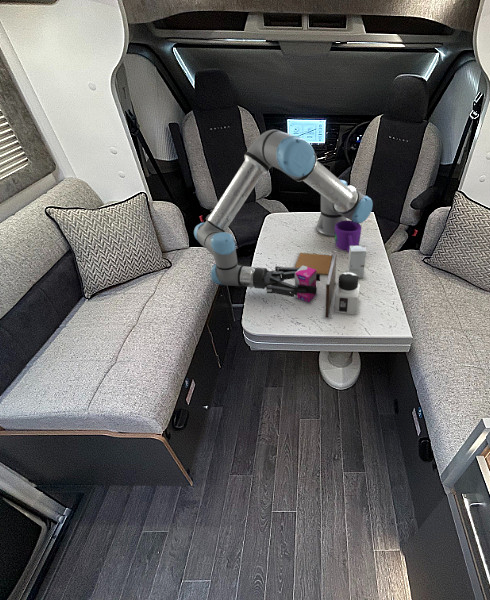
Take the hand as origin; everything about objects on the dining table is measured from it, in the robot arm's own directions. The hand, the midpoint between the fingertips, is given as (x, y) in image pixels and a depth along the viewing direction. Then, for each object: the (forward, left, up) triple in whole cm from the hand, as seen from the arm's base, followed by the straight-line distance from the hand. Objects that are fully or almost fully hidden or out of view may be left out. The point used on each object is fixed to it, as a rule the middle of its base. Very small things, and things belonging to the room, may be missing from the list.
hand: (318, 283), depth 120 cm
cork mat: (-22, -5, -7) cm, 24 cm away
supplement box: (0, -4, -7) cm, 8 cm away
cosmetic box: (-17, +12, -7) cm, 22 cm away
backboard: (0, +5, -7) cm, 8 cm away
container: (+3, +11, -7) cm, 13 cm away
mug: (-36, +8, -7) cm, 37 cm away
